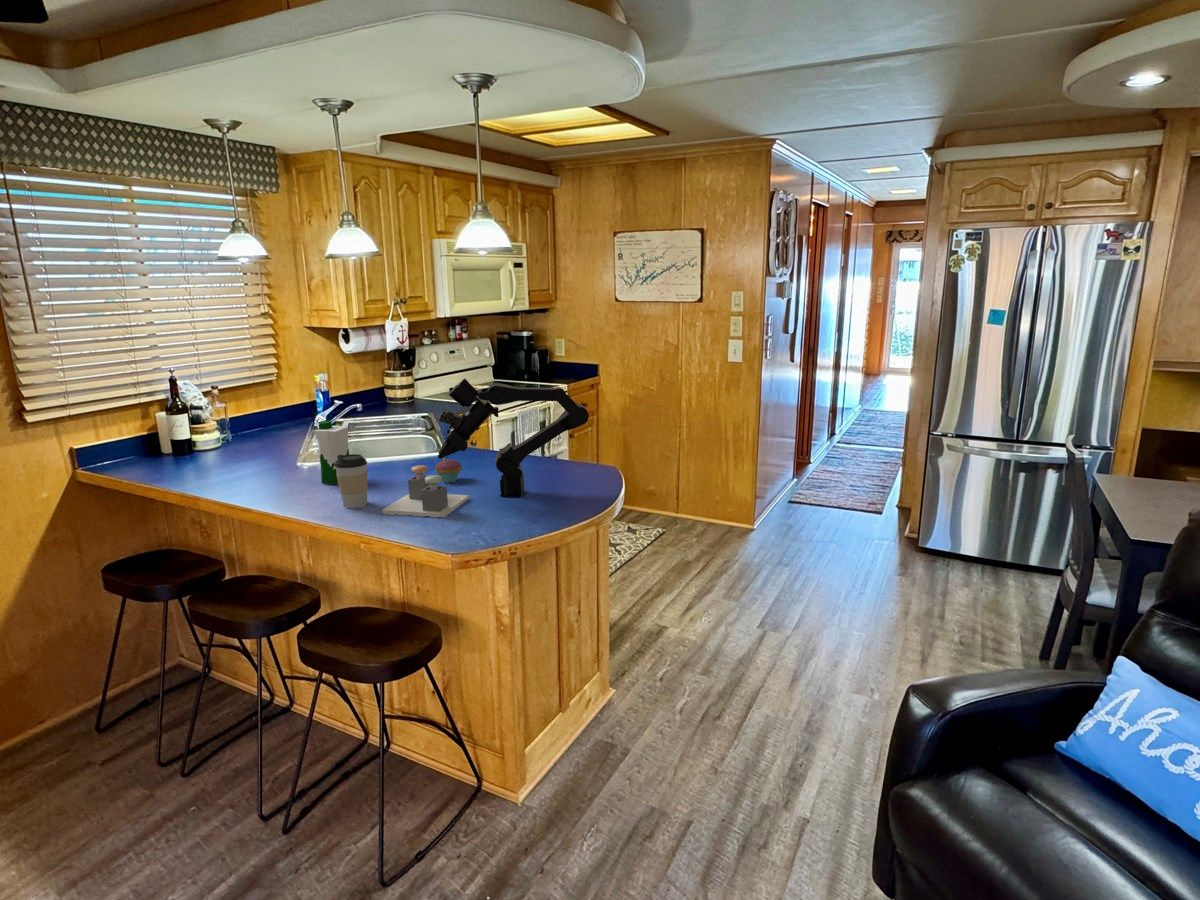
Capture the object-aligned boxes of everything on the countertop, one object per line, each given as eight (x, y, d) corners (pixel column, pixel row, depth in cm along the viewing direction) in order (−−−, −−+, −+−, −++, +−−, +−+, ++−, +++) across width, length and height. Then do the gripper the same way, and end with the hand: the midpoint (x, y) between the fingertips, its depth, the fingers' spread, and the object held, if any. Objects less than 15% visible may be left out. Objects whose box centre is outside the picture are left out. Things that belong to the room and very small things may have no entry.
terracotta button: (431, 487, 208) (429, 465, 206) (424, 492, 204) (422, 469, 202) (417, 486, 209) (415, 465, 207) (410, 491, 205) (408, 469, 203)
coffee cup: (360, 497, 211) (355, 450, 207) (377, 503, 205) (372, 454, 202) (333, 505, 204) (327, 456, 201) (350, 511, 199) (344, 461, 195)
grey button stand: (469, 499, 208) (467, 476, 206) (444, 518, 192) (442, 493, 190) (411, 495, 212) (409, 473, 211) (382, 513, 196) (380, 489, 195)
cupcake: (436, 485, 222) (433, 449, 219) (435, 478, 230) (432, 443, 227) (463, 483, 224) (461, 447, 222) (461, 476, 232) (459, 441, 229)
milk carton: (332, 476, 234) (326, 419, 229) (356, 478, 232) (350, 419, 228) (317, 484, 226) (310, 424, 221) (342, 485, 224) (335, 425, 219)
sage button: (446, 498, 198) (444, 475, 196) (438, 503, 193) (436, 480, 192) (431, 497, 199) (429, 474, 197) (423, 502, 194) (421, 479, 193)
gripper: (454, 394, 211) (420, 431, 212) (452, 405, 193) (415, 445, 194) (482, 418, 214) (448, 455, 215) (483, 431, 196) (446, 470, 197)
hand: (439, 456), depth 205 cm, fingers open, 4 cm apart
